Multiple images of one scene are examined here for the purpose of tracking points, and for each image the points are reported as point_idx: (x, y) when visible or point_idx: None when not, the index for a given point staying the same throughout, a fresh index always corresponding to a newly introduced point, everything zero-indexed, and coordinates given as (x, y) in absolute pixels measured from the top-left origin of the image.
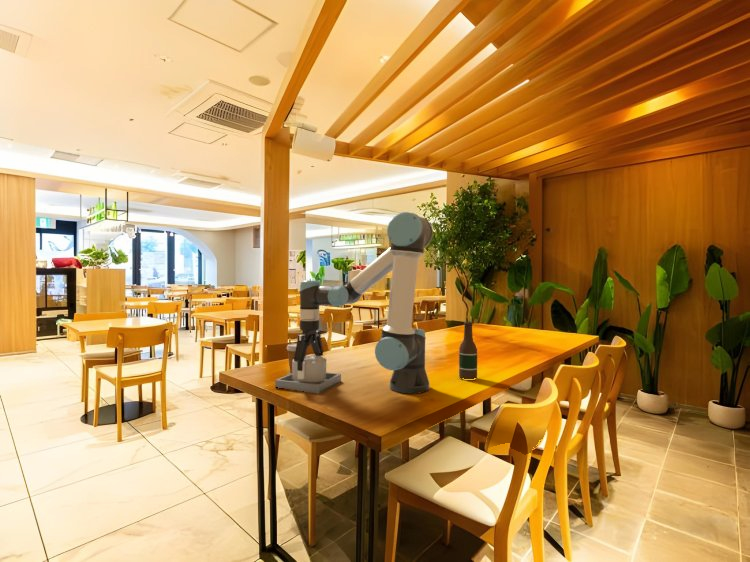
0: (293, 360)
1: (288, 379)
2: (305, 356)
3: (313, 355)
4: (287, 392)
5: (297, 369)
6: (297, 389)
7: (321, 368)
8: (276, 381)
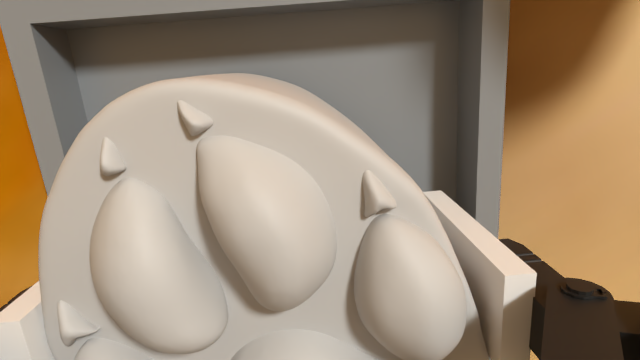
0: (81, 151)
1: (222, 16)
2: (264, 299)
3: (411, 358)
4: (24, 187)
5: (21, 292)
6: None
7: None
8: (5, 16)
